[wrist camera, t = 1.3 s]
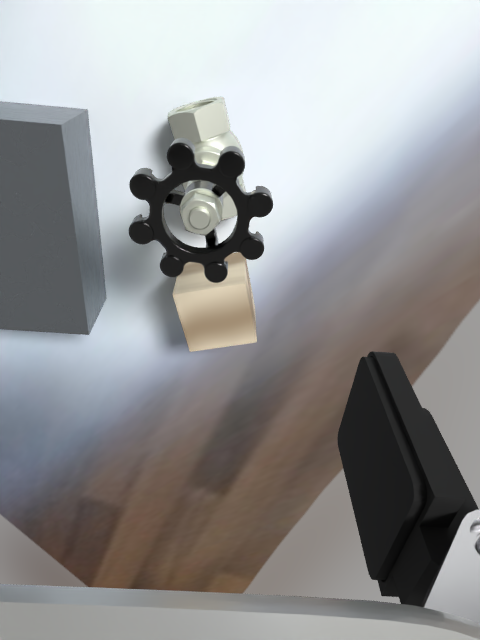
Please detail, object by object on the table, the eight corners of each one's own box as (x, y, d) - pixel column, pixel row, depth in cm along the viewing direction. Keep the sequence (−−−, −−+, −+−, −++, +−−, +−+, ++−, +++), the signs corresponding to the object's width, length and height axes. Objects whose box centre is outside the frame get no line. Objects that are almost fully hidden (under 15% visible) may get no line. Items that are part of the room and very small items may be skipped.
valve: (180, 210, 32) (154, 297, 22) (148, 113, 28) (99, 163, 18) (270, 189, 31) (286, 268, 21) (249, 86, 27) (256, 122, 17)
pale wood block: (180, 261, 34) (172, 294, 30) (244, 250, 33) (245, 283, 29) (195, 314, 37) (189, 351, 33) (254, 305, 36) (256, 342, 32)
